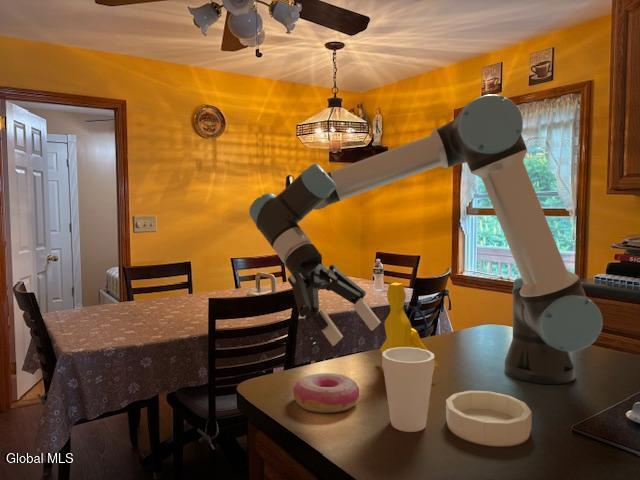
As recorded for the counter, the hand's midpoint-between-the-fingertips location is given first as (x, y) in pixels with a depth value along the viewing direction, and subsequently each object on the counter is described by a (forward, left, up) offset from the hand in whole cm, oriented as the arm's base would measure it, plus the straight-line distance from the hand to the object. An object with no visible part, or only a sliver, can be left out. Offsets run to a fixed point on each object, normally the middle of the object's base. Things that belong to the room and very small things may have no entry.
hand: (358, 333), depth 93 cm
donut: (+7, -3, -16) cm, 17 cm away
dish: (-23, +5, -15) cm, 28 cm away
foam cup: (-9, +5, -15) cm, 19 cm away
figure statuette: (-9, -23, -15) cm, 29 cm away
